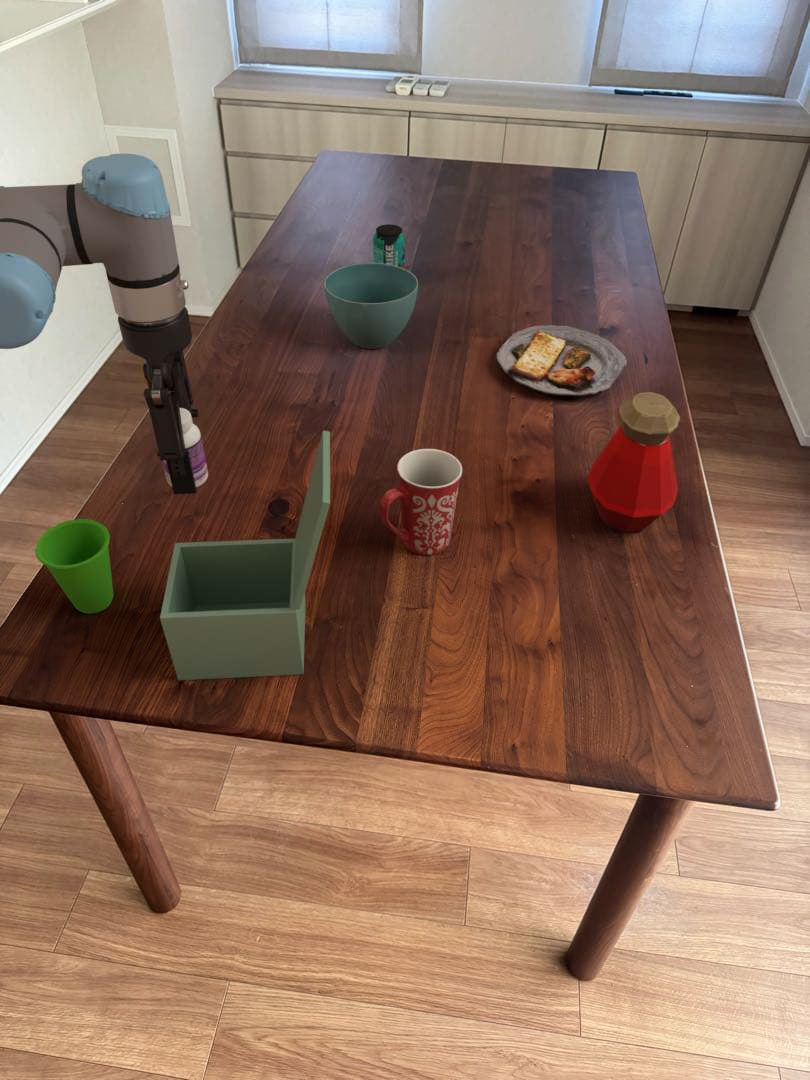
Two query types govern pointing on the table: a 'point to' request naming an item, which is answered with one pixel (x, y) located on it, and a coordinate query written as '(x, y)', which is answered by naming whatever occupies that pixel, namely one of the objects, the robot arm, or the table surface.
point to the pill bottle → (192, 449)
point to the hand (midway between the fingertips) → (187, 476)
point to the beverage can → (389, 245)
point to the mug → (424, 500)
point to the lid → (312, 519)
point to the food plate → (561, 360)
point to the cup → (79, 562)
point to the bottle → (637, 465)
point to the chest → (233, 610)
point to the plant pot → (371, 301)
